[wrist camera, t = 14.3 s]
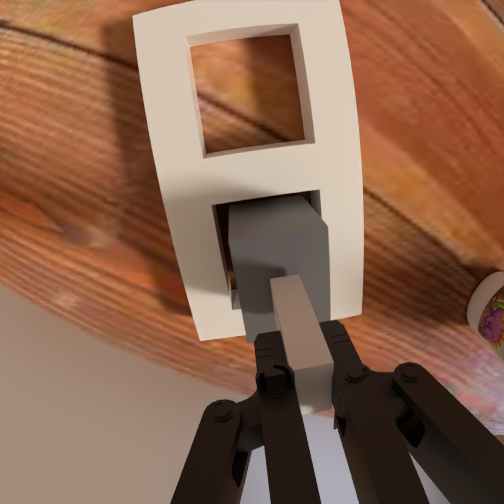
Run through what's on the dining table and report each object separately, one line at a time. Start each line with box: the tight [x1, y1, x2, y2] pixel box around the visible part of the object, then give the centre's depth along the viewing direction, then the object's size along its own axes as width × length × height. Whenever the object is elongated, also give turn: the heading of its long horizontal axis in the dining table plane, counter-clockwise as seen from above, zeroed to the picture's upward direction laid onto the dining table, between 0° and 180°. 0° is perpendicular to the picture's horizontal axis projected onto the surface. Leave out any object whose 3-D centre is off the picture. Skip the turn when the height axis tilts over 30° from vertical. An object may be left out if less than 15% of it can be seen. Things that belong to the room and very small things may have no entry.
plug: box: [228, 195, 331, 343], centre depth 21 cm, size 5×6×8 cm
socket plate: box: [132, 0, 364, 341], centre depth 21 cm, size 13×24×3 cm, turn 8°
